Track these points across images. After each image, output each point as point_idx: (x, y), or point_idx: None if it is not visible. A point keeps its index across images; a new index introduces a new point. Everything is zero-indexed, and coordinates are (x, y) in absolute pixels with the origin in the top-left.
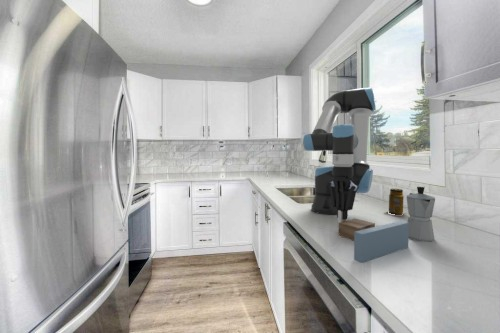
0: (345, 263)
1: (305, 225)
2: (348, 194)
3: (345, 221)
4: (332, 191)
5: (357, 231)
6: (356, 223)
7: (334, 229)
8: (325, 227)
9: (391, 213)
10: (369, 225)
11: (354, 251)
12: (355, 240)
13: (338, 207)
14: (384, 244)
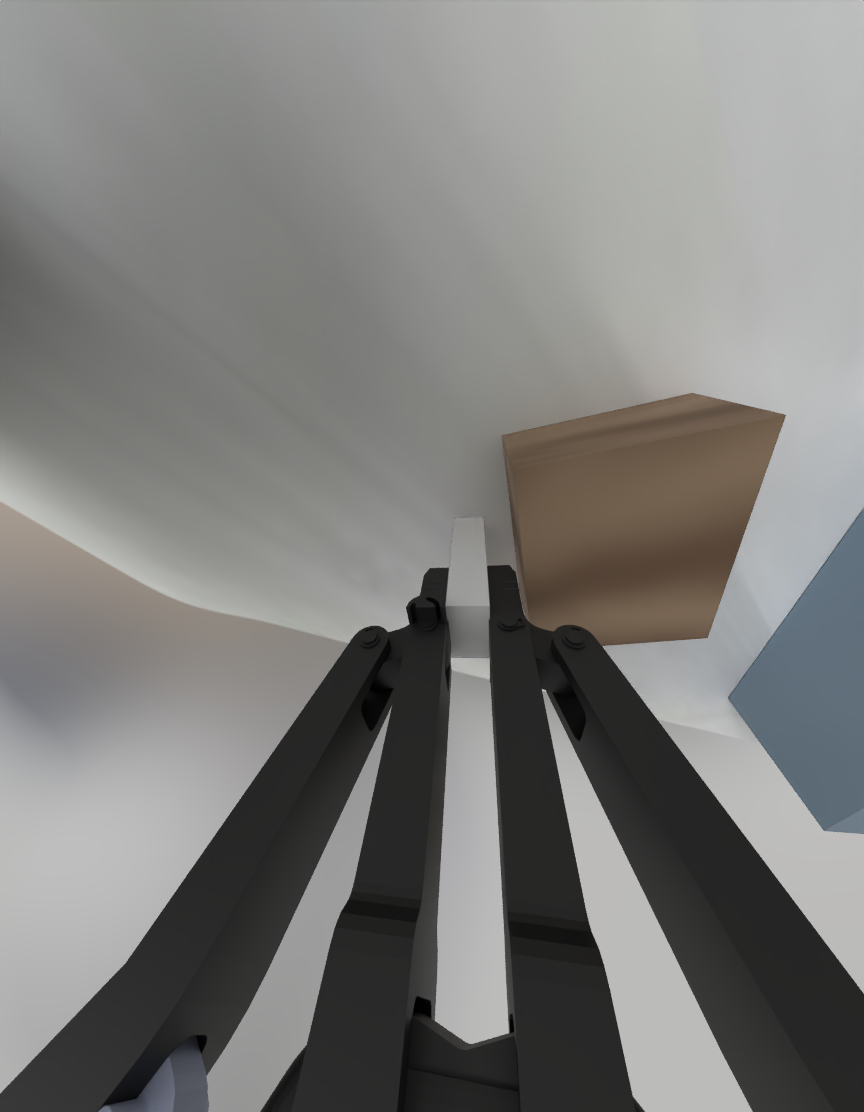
0: (715, 725)
1: (308, 617)
2: (681, 961)
3: (535, 599)
4: (294, 911)
5: (839, 825)
6: (629, 574)
7: (421, 540)
8: (368, 558)
9: None
10: (745, 518)
11: (751, 728)
12: (795, 782)
13: (449, 679)
14: None
